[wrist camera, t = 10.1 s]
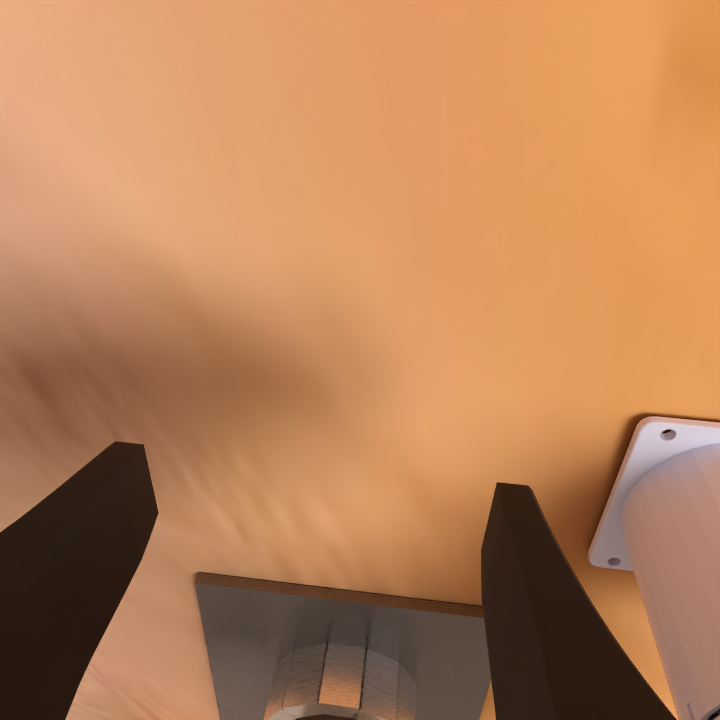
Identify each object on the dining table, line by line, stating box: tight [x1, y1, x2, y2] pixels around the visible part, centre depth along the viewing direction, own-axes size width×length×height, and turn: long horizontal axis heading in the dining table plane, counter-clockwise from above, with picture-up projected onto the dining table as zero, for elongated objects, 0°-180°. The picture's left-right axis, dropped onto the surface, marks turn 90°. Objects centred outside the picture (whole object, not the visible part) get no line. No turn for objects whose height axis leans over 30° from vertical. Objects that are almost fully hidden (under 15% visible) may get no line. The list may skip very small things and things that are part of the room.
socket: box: [195, 573, 491, 720], centre depth 32 cm, size 15×15×4 cm
